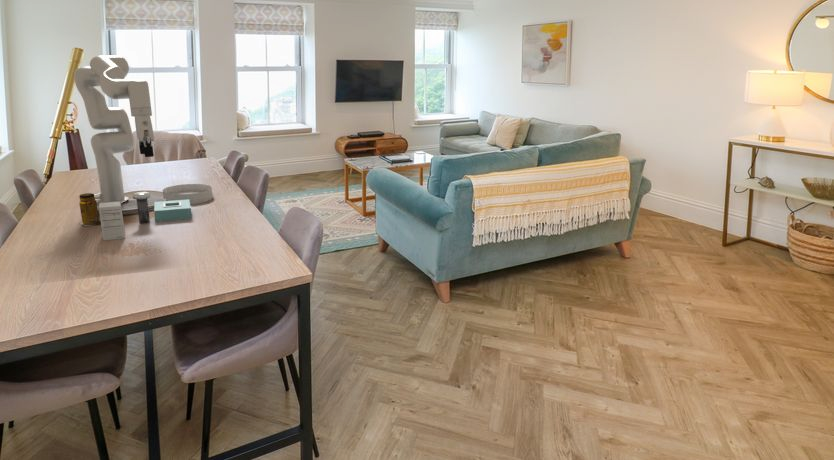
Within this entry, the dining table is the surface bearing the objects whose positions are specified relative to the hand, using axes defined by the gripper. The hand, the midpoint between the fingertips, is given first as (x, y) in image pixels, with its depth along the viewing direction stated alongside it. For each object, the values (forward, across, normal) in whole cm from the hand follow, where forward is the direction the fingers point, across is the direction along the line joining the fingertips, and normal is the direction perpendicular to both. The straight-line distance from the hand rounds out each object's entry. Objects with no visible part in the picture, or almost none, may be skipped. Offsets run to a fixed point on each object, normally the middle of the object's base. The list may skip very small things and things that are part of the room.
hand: (147, 155), depth 238 cm
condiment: (+26, +6, +22) cm, 35 cm away
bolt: (+27, -4, +5) cm, 27 cm away
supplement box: (+27, -18, +18) cm, 37 cm away
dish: (+26, +29, -20) cm, 44 cm away
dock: (+26, +2, -8) cm, 28 cm away
